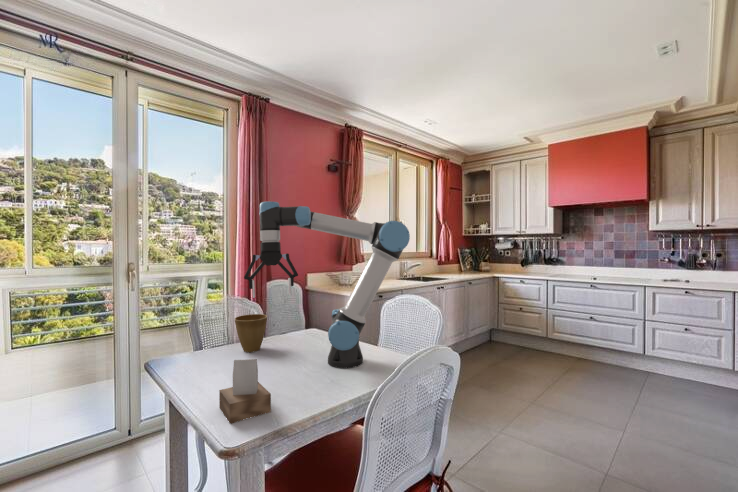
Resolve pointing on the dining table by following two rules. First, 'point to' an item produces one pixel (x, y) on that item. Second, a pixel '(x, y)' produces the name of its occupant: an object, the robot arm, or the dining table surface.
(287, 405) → the dining table surface
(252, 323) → the plant pot
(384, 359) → the dining table surface
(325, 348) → the dining table surface
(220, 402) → the walnut block
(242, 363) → the small grey carton
